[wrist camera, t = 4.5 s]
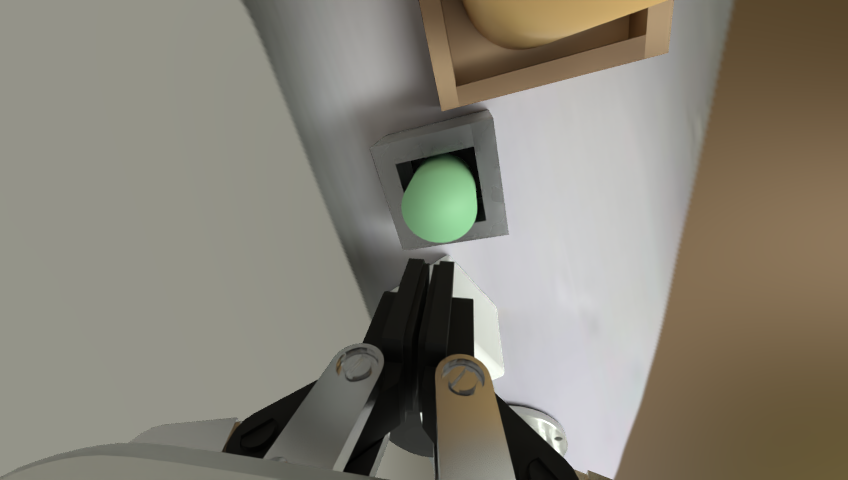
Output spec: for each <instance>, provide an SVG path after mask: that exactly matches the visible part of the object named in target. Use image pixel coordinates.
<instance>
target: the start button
mask: <svg viewBox="0 0 848 480" xmlns="http://www.w3.org/2000/svg"><path fill="white" fill-rule="evenodd" d="M401 209H402V215H403V218H404V221H405V222H406V224H407V226H408V227H409V229H410V230H411V231H412V232H413V233H415V234H416V235H417V236H419V237H420V238H422V239H424V240H427V241H431V242H436V243H444V242H450V241H453V240H456V239H458V238H460V237H462V236H463V235H464V234H466V233H467V232H468V231H469V230H470V228H471V227H472V225H473V223H474V221H475V218H476V214H477V200H476V185H475V177H474V174H473V171H472V170H471V168H470V166H469V165H468V164H467V163H466V162H465V161H464V160H462V159H461V158H459V157H457V156H455V155H451V154H438V155H433V156H431V157H429V158H427V159H426V160H424V161H423V162H422V163H421V164H420V165H419V167H418V168H417V170H416V172H415V174H414V176H413V178H412V180H411V181H410V183H409V185H408V187H407V189H406V191H405V193H404V195H403V198H402V205H401Z"/></svg>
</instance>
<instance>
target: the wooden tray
mask: <svg viewBox="0 0 848 480" xmlns="http://www.w3.org/2000/svg"><path fill="white" fill-rule="evenodd" d="M419 4H420V9H421V13H422V18H423V23H424V28H425V33H426V38H427V43H428V47H429V52H430V57H431V62H432V67H433V72H434V77H435V81H436V86H437V91H438V96H439V101H440V106H441V110H442V111H446V110H449V109H453V108H457V107H461V106H465V105H469V104H473V103H476V102H480V101H484V100H488V99H492V98H496V97H500V96H503V95H507V94H511V93H515V92H519V91H523V90H527V89H530V88H534V87H538V86H542V85H546V84H550V83H554V82H557V81H561V80H565V79H569V78H573V77H577V76H581V75H584V74H588V73H592V72H596V71H600V70H604V69H608V68H612V67H615V66H619V65H623V64H627V63H631V62H635V61H639V60H642V59H646V58H650V57H654V56H658V55H662V54H666V53H668V50H669V41H670V32H671V23H672V14H673V5H674V0H667V1H665V2H662V3H659V4H656V5H654V6H651V7H648V8H645V9H642V10H640V11H637V12H634V13H631V14H628V15H626V16H623V17H620V18H617V19H615V20H612V21H609V22H606V23H603V24H601V25H598V26H595V27H592V28H589V29H587V30H584V31H581V32H578V33H576V34H573V35H570V36H567V37H564V38H562V39H559V40H556V41H553V42H550V43H548V44H545V45H542V46H539V47H537V48H532V49H527V50H511V49H506V48H502V47H500V46H498V45H495V44H493V43H492V42H490V41H489V40H487V39H486V38H485V37H484V36H482V35H481V34H480V33H479V32H478V30H477V29H476V28H475V27H474V25H473V24H472V22H471V21H470V19H469V17H468V15H467V13H466V10H465V8H464V5H463V1H462V0H419Z"/></svg>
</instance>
